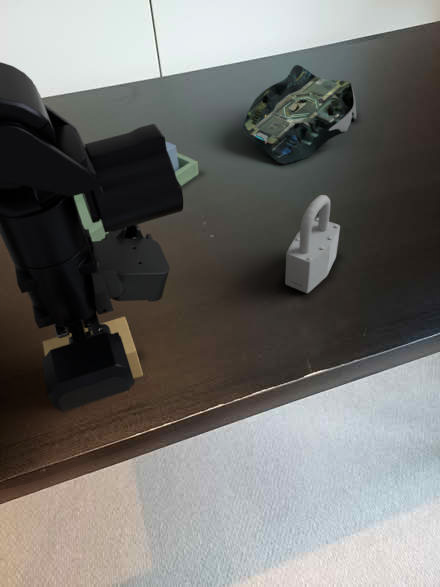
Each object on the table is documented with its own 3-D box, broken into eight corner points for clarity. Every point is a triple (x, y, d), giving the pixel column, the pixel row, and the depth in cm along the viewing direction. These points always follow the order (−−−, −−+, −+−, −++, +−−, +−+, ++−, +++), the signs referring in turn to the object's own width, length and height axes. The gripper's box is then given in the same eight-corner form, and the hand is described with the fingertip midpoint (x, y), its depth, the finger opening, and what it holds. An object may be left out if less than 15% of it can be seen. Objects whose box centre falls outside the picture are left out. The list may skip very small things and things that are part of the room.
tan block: (61, 403, 50) (48, 378, 47) (54, 366, 53) (42, 341, 50) (143, 376, 51) (136, 350, 48) (132, 341, 54) (124, 315, 51)
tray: (86, 251, 66) (82, 238, 64) (43, 222, 70) (38, 210, 69) (198, 174, 76) (197, 161, 74) (154, 153, 80) (152, 141, 79)
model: (238, 164, 81) (321, 180, 74) (227, 110, 75) (317, 122, 68) (300, 102, 91) (378, 111, 84) (295, 50, 85) (379, 55, 78)
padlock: (310, 247, 64) (315, 177, 57) (340, 259, 62) (350, 188, 55) (280, 283, 60) (282, 213, 53) (312, 297, 58) (318, 226, 51)
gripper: (187, 294, 35) (205, 416, 47) (124, 156, 48) (151, 278, 59) (18, 346, 33) (80, 460, 45) (-2, 187, 46) (51, 308, 57)
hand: (95, 365), depth 51 cm, fingers closed on tan block, 4 cm apart
